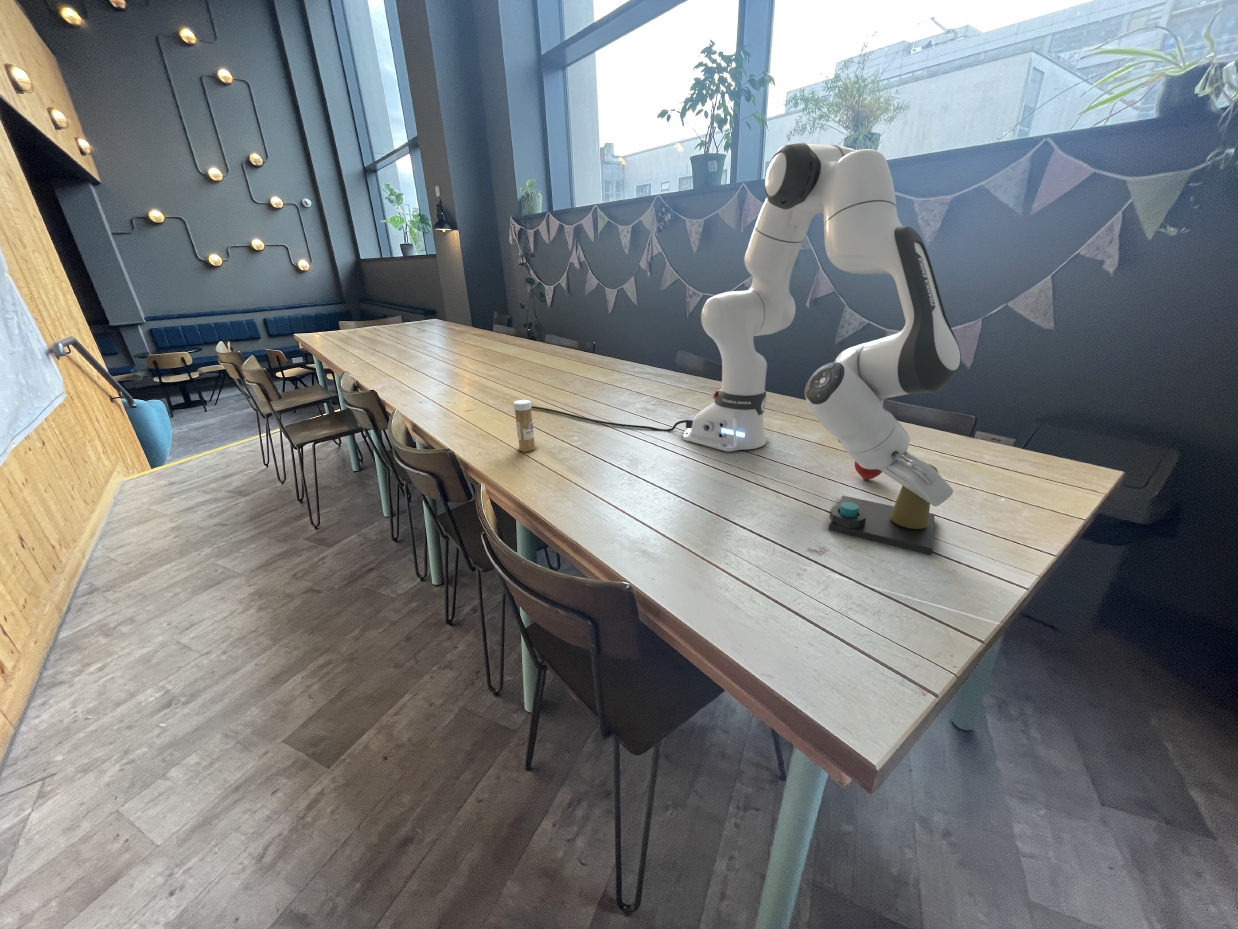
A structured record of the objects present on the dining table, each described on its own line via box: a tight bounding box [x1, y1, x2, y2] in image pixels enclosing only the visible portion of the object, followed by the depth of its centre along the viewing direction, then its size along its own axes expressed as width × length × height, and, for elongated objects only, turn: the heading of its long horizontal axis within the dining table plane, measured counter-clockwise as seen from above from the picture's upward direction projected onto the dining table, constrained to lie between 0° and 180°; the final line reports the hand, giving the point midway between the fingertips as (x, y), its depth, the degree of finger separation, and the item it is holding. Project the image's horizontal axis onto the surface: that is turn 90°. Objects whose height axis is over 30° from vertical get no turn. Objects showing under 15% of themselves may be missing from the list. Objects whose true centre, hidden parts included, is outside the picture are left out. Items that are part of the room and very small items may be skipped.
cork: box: [890, 463, 939, 529], centre depth 83 cm, size 6×6×11 cm
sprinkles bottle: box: [513, 399, 536, 453], centre depth 126 cm, size 5×5×13 cm
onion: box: [853, 460, 883, 481], centre depth 103 cm, size 6×6×8 cm
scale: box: [828, 495, 936, 556], centre depth 87 cm, size 16×13×3 cm
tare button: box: [839, 502, 859, 517], centre depth 86 cm, size 3×3×2 cm
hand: (919, 491), depth 83 cm, fingers closed on cork, 4 cm apart
